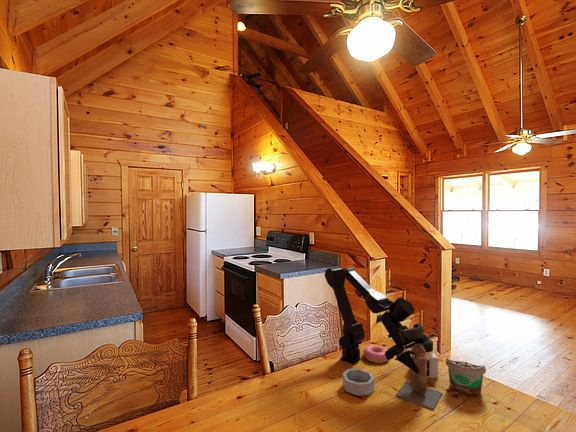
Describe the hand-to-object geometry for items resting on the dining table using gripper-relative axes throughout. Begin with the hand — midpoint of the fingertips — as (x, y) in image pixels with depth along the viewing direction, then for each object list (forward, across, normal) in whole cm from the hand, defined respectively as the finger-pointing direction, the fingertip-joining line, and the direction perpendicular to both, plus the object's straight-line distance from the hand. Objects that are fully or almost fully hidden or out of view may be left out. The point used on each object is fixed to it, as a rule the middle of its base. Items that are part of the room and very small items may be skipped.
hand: (422, 370), depth 104 cm
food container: (+12, +14, +1) cm, 18 cm away
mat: (+5, 0, +7) cm, 9 cm away
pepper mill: (+4, 0, +6) cm, 7 cm away
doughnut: (-12, +10, +26) cm, 30 cm away
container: (+1, +15, +12) cm, 19 cm away
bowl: (-5, -13, +18) cm, 23 cm away
